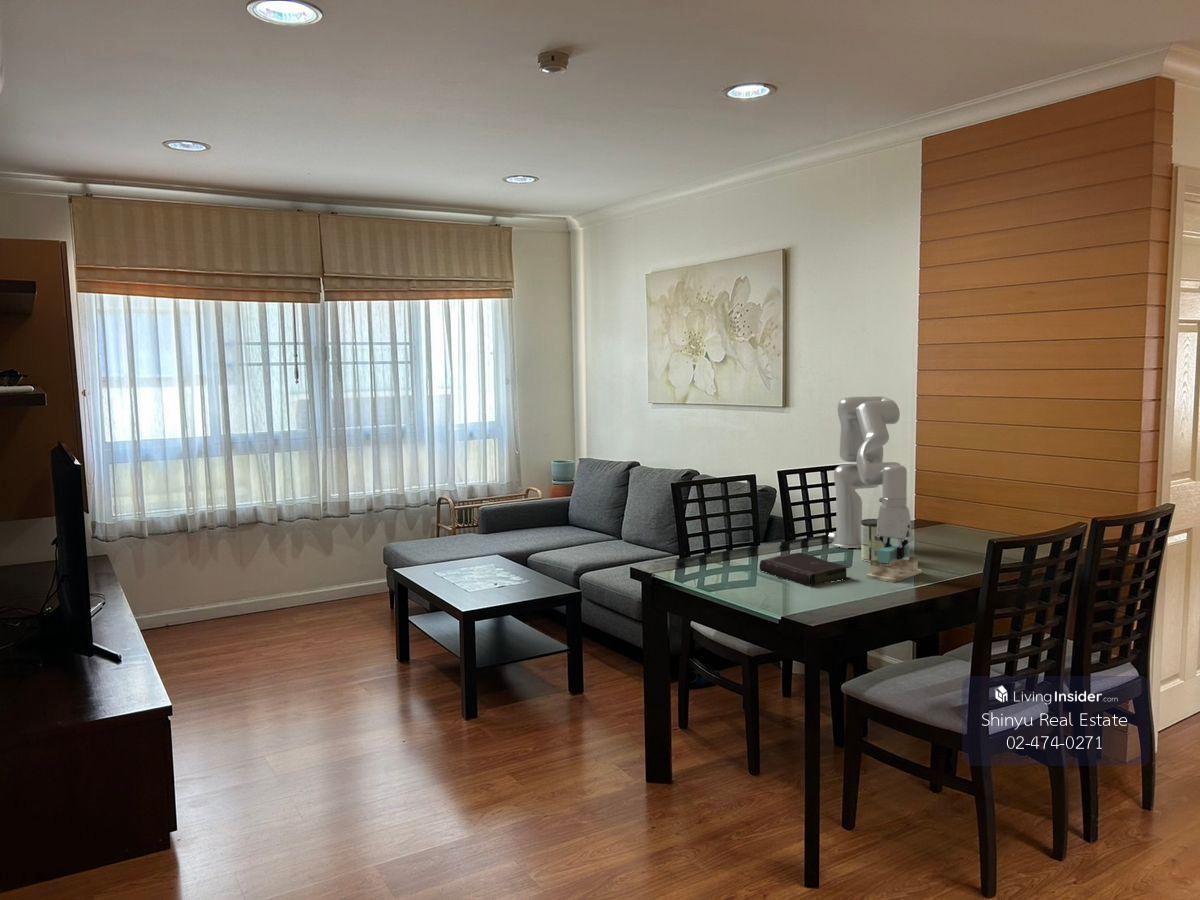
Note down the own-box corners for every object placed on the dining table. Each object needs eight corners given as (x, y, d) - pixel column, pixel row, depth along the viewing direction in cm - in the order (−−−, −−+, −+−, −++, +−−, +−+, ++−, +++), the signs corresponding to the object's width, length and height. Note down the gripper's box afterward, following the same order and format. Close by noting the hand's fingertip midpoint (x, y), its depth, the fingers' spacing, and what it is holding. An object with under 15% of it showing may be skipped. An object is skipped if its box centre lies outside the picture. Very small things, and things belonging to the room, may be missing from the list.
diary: (808, 589, 273) (808, 574, 272) (759, 573, 295) (758, 559, 294) (852, 580, 281) (852, 565, 281) (801, 565, 303) (801, 551, 303)
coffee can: (879, 555, 313) (879, 517, 312) (897, 561, 303) (897, 522, 302) (854, 558, 310) (854, 519, 309) (872, 564, 300) (872, 524, 299)
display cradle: (866, 577, 282) (866, 560, 281) (894, 568, 294) (894, 551, 293) (894, 582, 275) (894, 564, 274) (921, 572, 287) (922, 555, 286)
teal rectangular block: (877, 561, 280) (877, 549, 280) (899, 554, 290) (899, 543, 289) (888, 563, 278) (888, 551, 277) (909, 556, 287) (909, 544, 287)
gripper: (865, 501, 286) (865, 556, 287) (912, 507, 273) (912, 563, 275) (877, 499, 291) (877, 552, 292) (924, 504, 278) (923, 559, 280)
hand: (894, 557), depth 284 cm, fingers closed on teal rectangular block, 3 cm apart
